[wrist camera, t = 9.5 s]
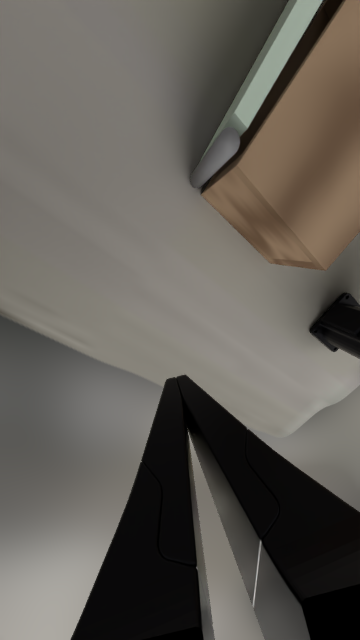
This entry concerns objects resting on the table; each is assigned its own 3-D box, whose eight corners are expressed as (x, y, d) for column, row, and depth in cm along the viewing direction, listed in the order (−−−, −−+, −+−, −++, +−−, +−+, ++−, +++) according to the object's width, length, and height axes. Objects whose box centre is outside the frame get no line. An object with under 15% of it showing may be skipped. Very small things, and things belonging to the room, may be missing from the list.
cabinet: (380, 123, 17) (510, 57, 11) (270, 263, 20) (325, 270, 14) (327, -2, 13) (482, -207, 7) (201, 195, 16) (236, 165, 10)
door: (325, -31, 12) (478, -258, 7) (198, 191, 15) (230, 161, 10) (307, -69, 11) (463, -361, 6) (178, 173, 15) (201, 130, 9)
